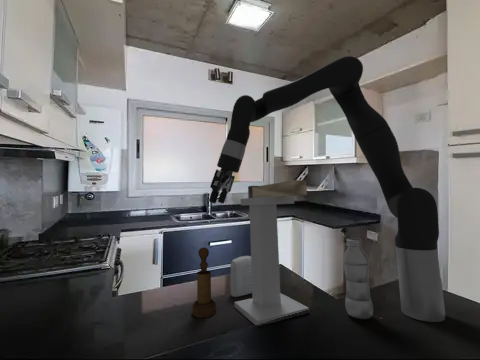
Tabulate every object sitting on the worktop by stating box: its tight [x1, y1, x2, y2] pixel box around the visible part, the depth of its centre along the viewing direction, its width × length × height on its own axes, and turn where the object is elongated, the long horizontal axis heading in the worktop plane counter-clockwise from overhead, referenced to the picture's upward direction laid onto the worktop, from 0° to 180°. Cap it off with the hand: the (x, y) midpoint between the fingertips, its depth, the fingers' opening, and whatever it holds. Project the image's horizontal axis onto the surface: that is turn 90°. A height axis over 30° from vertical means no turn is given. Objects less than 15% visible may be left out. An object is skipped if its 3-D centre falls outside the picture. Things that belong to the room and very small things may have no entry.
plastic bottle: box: [341, 237, 374, 320], centre depth 65 cm, size 6×7×20 cm
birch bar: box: [247, 179, 308, 198], centre depth 70 cm, size 4×23×4 cm, turn 25°
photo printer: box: [230, 255, 252, 298], centre depth 85 cm, size 10×4×12 cm, turn 124°
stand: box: [234, 196, 310, 326], centre depth 72 cm, size 16×14×32 cm
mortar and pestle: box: [192, 247, 217, 318], centre depth 71 cm, size 7×6×18 cm
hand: (216, 202), depth 82 cm, fingers open, 8 cm apart
